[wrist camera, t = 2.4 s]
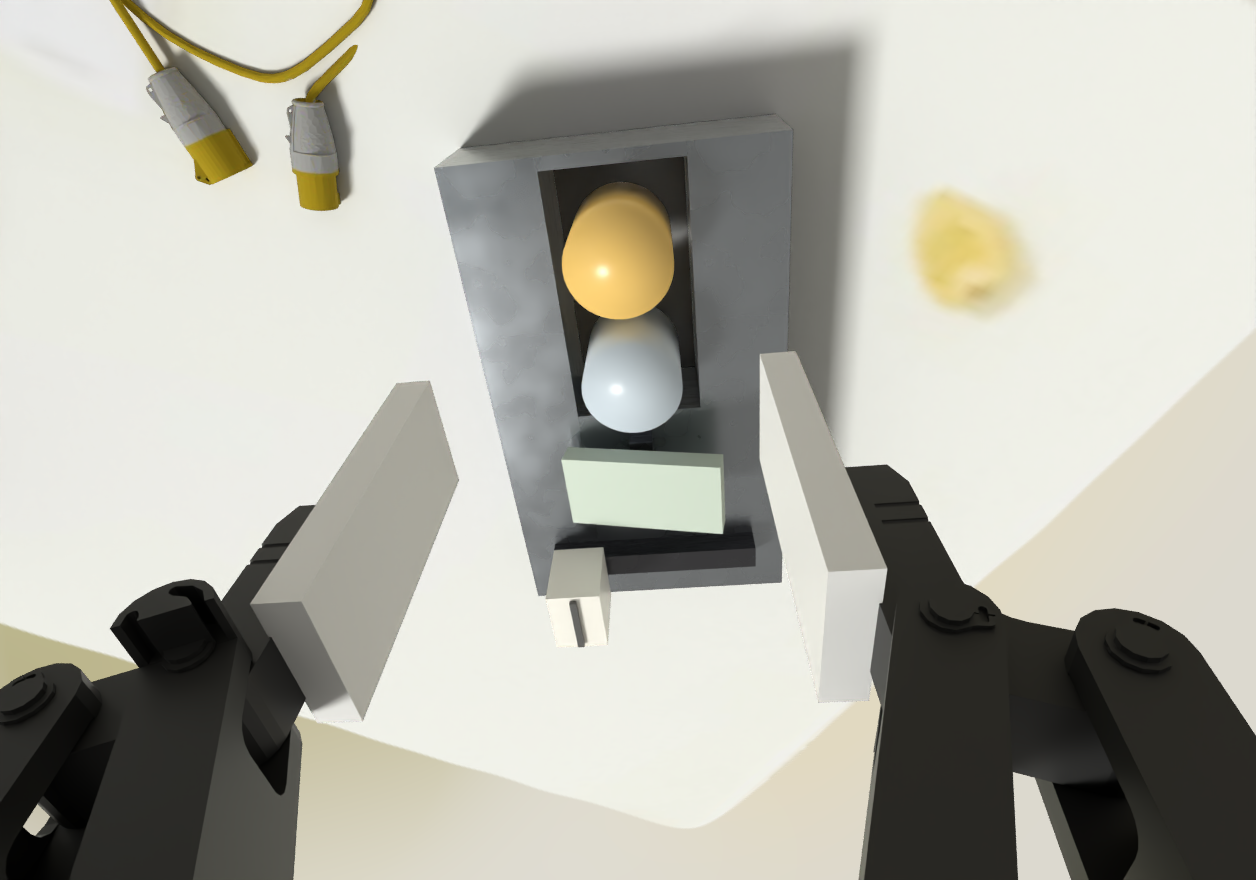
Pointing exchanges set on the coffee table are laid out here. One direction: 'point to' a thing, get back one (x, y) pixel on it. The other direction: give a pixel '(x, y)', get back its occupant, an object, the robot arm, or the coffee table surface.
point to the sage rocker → (646, 489)
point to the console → (551, 353)
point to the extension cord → (219, 146)
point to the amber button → (619, 252)
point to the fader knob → (579, 597)
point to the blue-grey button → (633, 372)
